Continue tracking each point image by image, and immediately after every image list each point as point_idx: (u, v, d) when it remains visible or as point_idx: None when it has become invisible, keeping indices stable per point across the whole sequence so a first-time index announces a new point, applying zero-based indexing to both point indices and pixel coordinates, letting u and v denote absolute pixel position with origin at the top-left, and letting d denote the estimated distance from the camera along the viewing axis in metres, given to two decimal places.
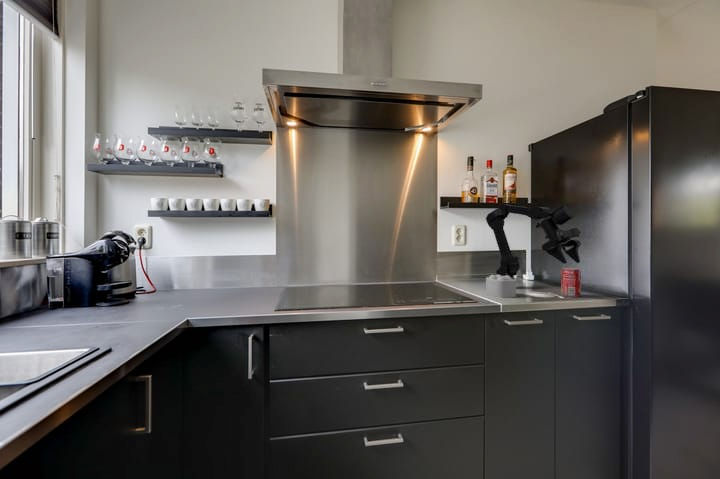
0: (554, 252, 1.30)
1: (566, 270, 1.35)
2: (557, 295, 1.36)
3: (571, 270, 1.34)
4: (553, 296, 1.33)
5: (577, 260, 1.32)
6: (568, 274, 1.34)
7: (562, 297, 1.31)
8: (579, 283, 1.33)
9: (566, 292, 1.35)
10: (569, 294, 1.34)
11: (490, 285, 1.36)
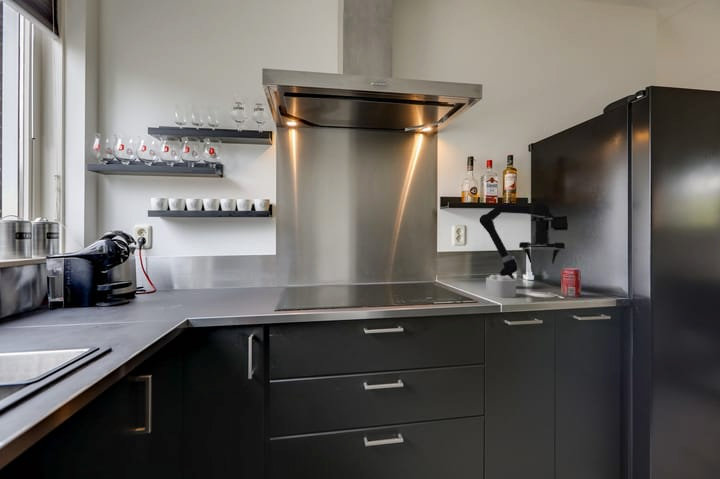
0: None
1: (566, 270, 1.35)
2: (557, 295, 1.36)
3: (571, 270, 1.34)
4: (553, 296, 1.33)
5: (531, 260, 1.53)
6: (568, 274, 1.34)
7: (562, 297, 1.31)
8: (579, 283, 1.33)
9: (566, 292, 1.35)
10: (569, 294, 1.34)
11: (490, 285, 1.36)
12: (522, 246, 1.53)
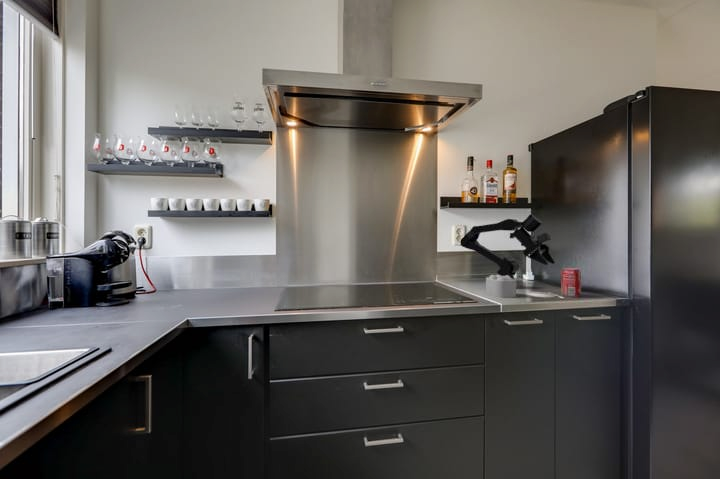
0: (535, 256, 1.42)
1: (566, 270, 1.35)
2: (557, 295, 1.36)
3: (571, 270, 1.34)
4: (553, 296, 1.33)
5: (552, 261, 1.46)
6: (568, 274, 1.34)
7: (562, 297, 1.31)
8: (579, 283, 1.33)
9: (566, 292, 1.35)
10: (569, 294, 1.34)
11: (490, 285, 1.36)
12: None
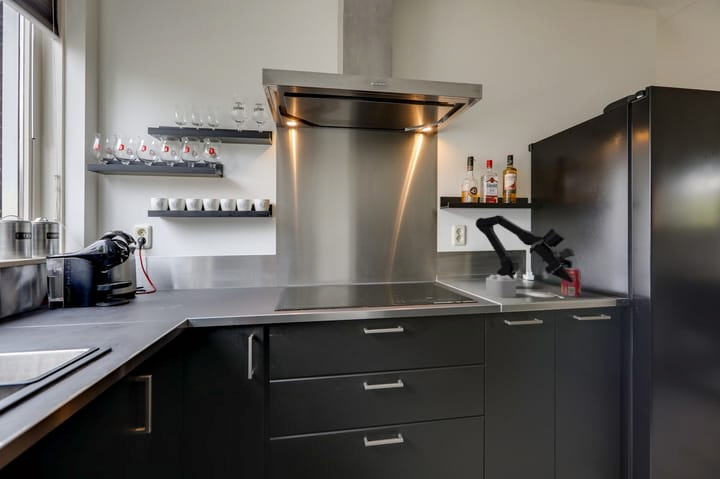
0: (559, 273, 1.36)
1: (566, 270, 1.35)
2: (557, 295, 1.36)
3: (571, 270, 1.34)
4: (553, 296, 1.33)
5: None
6: (568, 274, 1.34)
7: (562, 297, 1.31)
8: (579, 283, 1.33)
9: (566, 292, 1.35)
10: (569, 294, 1.34)
11: (490, 285, 1.36)
12: None
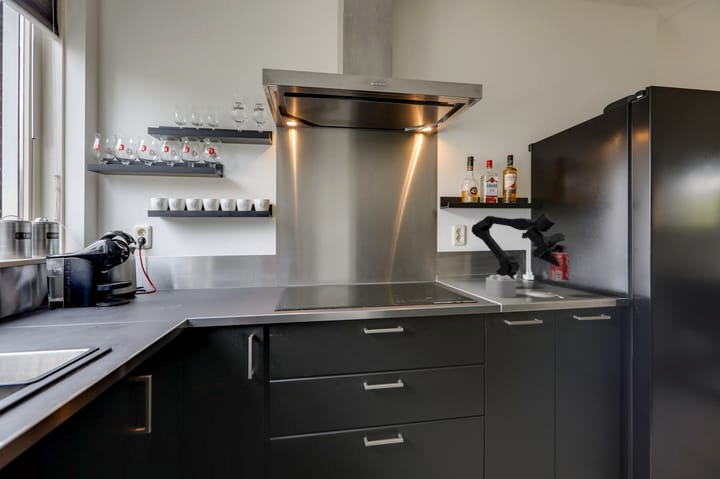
0: (546, 257, 1.36)
1: (554, 254, 1.36)
2: (557, 295, 1.36)
3: (559, 254, 1.34)
4: (553, 296, 1.33)
5: None
6: (556, 258, 1.35)
7: (562, 297, 1.31)
8: (567, 267, 1.33)
9: (553, 276, 1.35)
10: (556, 278, 1.34)
11: (490, 285, 1.36)
12: None
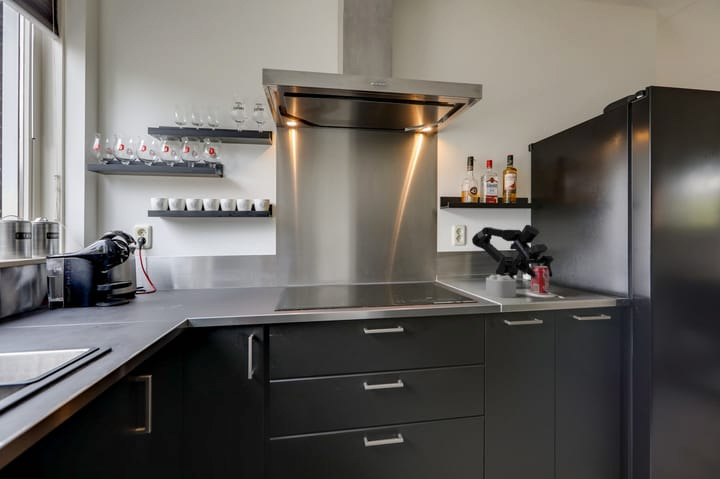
0: (524, 268, 1.39)
1: (533, 268, 1.38)
2: (557, 295, 1.36)
3: (536, 268, 1.37)
4: (553, 296, 1.33)
5: (550, 274, 1.38)
6: (533, 271, 1.37)
7: (562, 297, 1.31)
8: (544, 281, 1.35)
9: (532, 289, 1.38)
10: (534, 291, 1.37)
11: (490, 285, 1.36)
12: None
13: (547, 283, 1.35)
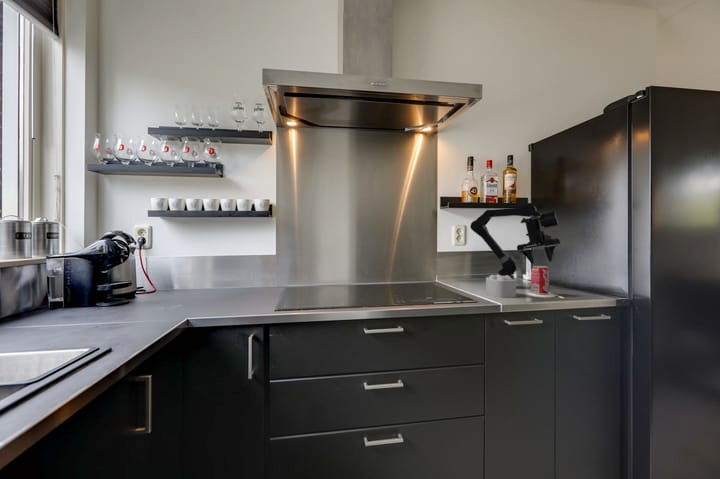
0: (549, 249, 1.43)
1: (533, 268, 1.38)
2: (557, 295, 1.36)
3: (536, 268, 1.36)
4: (553, 296, 1.33)
5: (532, 261, 1.53)
6: (533, 271, 1.37)
7: (562, 297, 1.31)
8: (544, 281, 1.35)
9: (532, 289, 1.38)
10: (534, 291, 1.37)
11: (490, 285, 1.36)
12: (519, 249, 1.55)
13: (547, 283, 1.35)
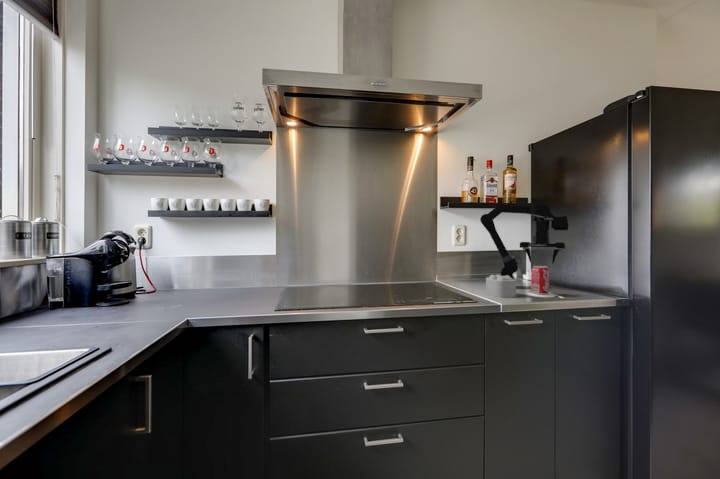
0: None
1: (533, 268, 1.38)
2: (557, 295, 1.36)
3: (536, 268, 1.36)
4: (553, 296, 1.33)
5: (531, 260, 1.54)
6: (533, 271, 1.37)
7: (562, 297, 1.31)
8: (544, 281, 1.35)
9: (532, 289, 1.38)
10: (534, 291, 1.37)
11: (490, 285, 1.36)
12: (522, 246, 1.53)
13: (547, 283, 1.35)
